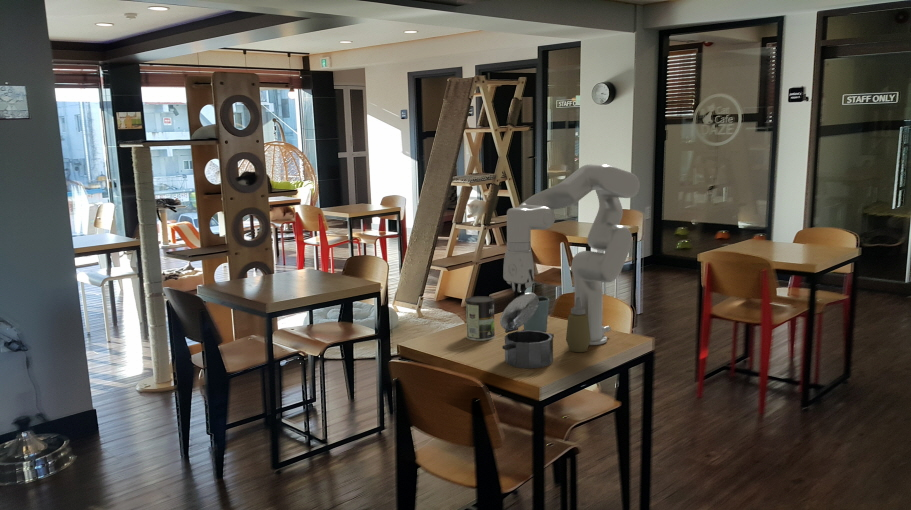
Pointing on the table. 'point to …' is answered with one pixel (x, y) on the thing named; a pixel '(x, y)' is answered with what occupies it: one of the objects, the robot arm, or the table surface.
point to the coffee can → (480, 318)
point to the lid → (519, 311)
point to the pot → (528, 349)
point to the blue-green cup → (539, 316)
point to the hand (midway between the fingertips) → (519, 303)
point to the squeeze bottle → (578, 329)
